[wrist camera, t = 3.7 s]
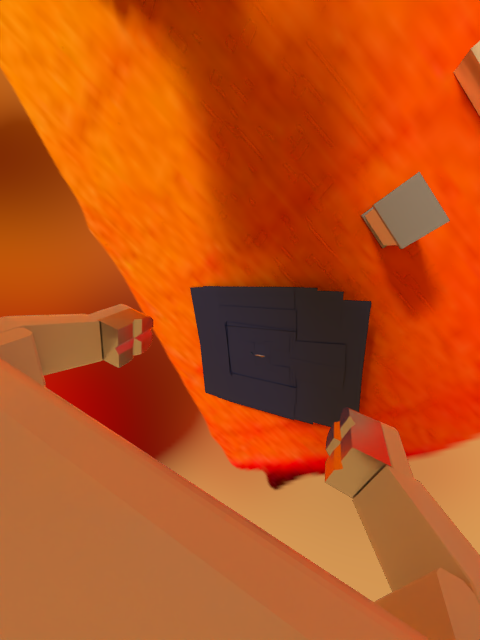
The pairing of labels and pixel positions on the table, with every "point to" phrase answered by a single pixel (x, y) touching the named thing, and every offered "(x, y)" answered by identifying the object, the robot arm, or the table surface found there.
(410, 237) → the plate
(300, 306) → the dark grey panelled slab
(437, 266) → the table surface
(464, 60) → the oak stand
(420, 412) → the table surface
